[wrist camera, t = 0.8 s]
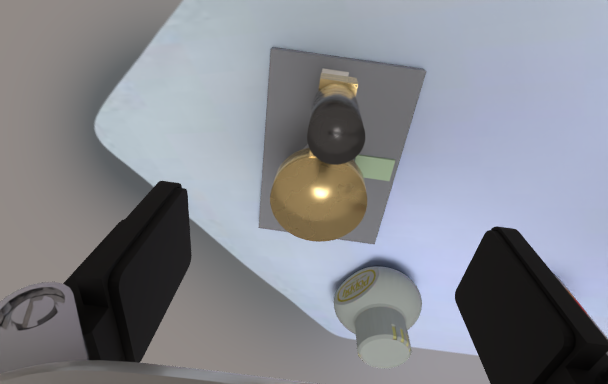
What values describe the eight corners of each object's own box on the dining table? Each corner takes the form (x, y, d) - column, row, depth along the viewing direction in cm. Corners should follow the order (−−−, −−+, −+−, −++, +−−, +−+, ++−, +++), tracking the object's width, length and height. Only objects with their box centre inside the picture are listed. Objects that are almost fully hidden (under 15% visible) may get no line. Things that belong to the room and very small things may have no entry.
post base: (423, 68, 31) (446, 86, 25) (373, 238, 41) (380, 279, 35) (272, 47, 31) (258, 59, 25) (260, 221, 41) (248, 261, 35)
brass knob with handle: (392, 82, 24) (417, 116, 17) (354, 230, 32) (361, 298, 24) (284, 66, 24) (266, 95, 17) (271, 218, 31) (253, 283, 24)
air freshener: (362, 319, 48) (369, 388, 40) (323, 288, 46) (322, 355, 37) (426, 283, 44) (449, 353, 36) (387, 247, 42) (403, 312, 33)
